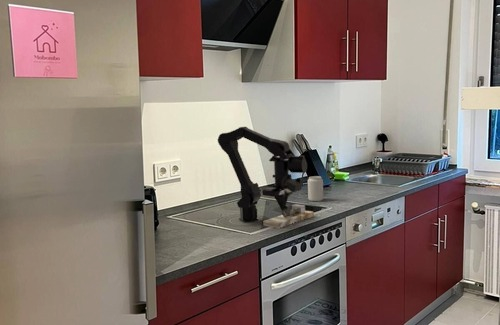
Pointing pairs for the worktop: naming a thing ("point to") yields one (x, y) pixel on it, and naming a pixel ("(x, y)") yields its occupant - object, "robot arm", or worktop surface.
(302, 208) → the keeper
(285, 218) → the door jamb
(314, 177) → the can
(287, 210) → the bolt
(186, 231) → the worktop surface
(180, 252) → the worktop surface
